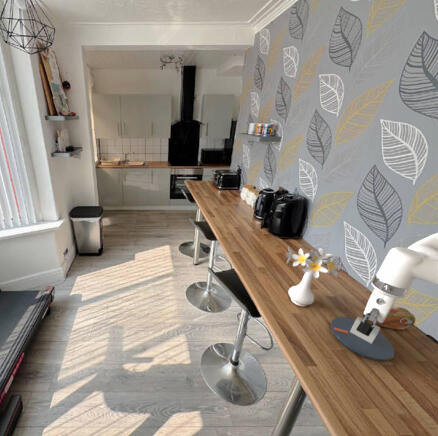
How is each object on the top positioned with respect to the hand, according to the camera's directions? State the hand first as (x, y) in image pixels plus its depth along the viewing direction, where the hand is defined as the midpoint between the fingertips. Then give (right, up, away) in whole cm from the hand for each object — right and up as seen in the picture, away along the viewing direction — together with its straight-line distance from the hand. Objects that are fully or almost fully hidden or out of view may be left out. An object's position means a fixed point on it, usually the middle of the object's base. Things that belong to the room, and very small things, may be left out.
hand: (365, 325), depth 79 cm
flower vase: (-10, +1, +20) cm, 23 cm away
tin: (+16, -4, +10) cm, 20 cm away
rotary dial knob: (0, -5, +2) cm, 6 cm away
